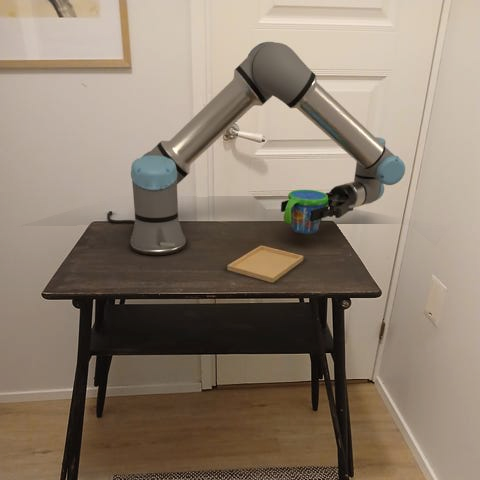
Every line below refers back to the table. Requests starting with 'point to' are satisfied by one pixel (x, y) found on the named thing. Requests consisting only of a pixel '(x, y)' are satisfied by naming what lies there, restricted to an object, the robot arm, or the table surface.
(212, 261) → the table surface
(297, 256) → the tray
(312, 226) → the snack cup
